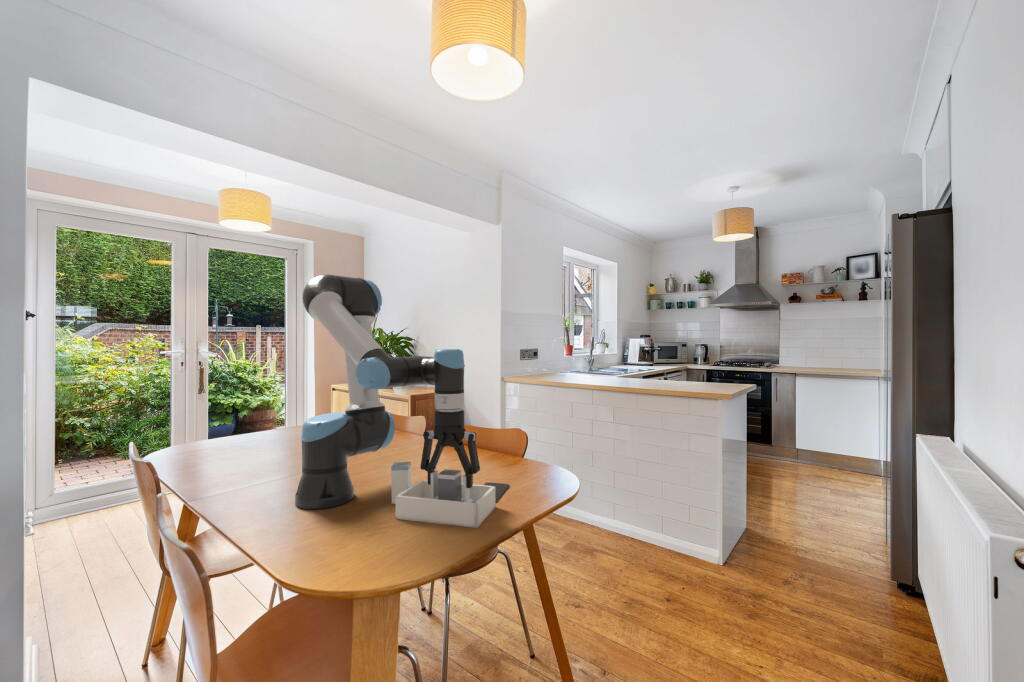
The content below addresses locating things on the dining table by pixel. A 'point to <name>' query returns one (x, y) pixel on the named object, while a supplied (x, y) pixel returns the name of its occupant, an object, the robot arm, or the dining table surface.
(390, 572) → the dining table surface
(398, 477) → the cream plug
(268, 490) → the dining table surface
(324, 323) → the robot arm
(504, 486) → the smartphone
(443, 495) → the grey plug
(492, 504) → the tray box
